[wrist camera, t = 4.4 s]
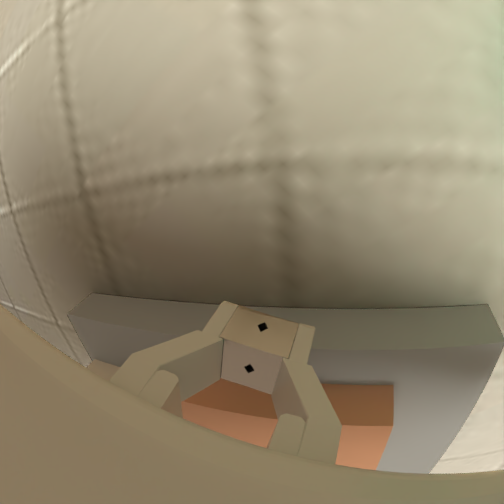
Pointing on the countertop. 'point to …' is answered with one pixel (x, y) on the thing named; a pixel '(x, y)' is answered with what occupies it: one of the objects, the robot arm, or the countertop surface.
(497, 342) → the platform
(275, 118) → the countertop surface
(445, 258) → the countertop surface
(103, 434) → the robot arm
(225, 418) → the terracotta tile
